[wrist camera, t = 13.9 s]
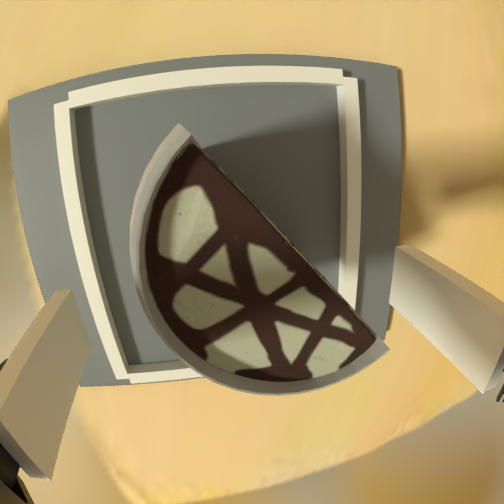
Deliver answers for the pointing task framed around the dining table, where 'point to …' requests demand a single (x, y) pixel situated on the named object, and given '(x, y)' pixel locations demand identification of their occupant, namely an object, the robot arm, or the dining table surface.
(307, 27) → the dining table surface
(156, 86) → the dock board
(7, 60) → the dining table surface
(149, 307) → the food container
